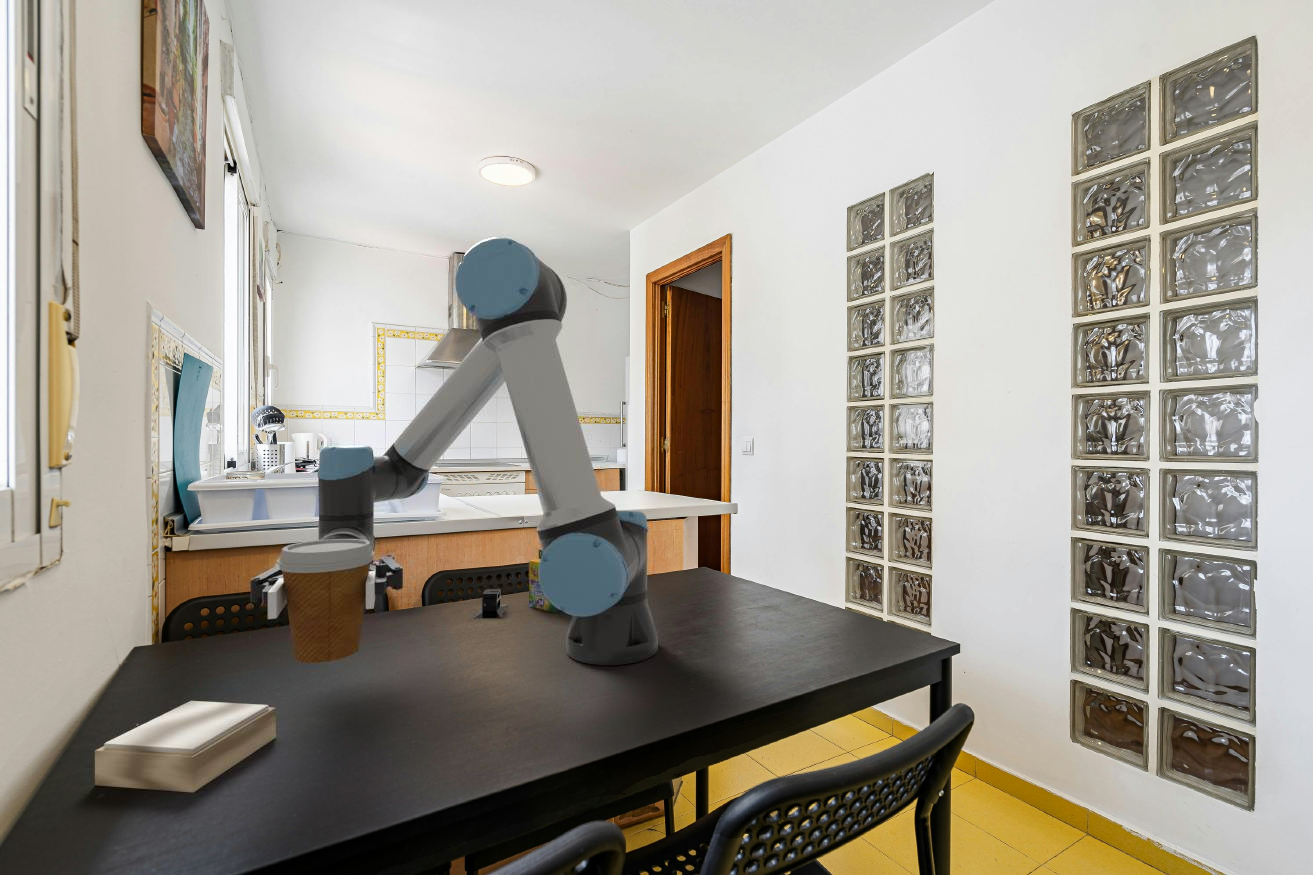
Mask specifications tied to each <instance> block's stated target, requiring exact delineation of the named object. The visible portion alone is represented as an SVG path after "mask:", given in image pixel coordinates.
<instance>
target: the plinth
mask: <svg viewBox="0 0 1313 875" xmlns="http://www.w3.org/2000/svg"><path fill="white" fill-rule="evenodd" d="M276 716H277V707H271V706H269V704H259V703H258V704H254V703H252V704H251V703H236V702H235V703H234V702H218V701H204V700H203V701H198V700H189V701H188V702H186V703H184V704H181V705H179V706H178V707H175V708H174V709H171V710H170V711H168V712H165V713H163V714H162V715H160V716H157V717H155V718H153V719H151V720H149V721H148V722H145V723H143V724H141V725H139V726H137V727H134V728H132V729H131V730H129V731H127V732H124V733H123V734H121V735H119V736H116V737H114V738H112V739H110V740H108V741H106V742H105V743H103V746H101V747H99V748H97V749H95V750H94V786H101V787H116V788H127V789H128V788H130V789H142V790H143V789H144V790H157V791H166V792H167V791H168V792H169V791H171V792H182V793H183V792H184V793H195V792H196V791H198V790H200V789H201V788H203V786H205V785H206V784H209V783H210V782H211V781H213V780H214V779H216V778H218V777H219V776H220V775H222V774H223V773H225V772H226V771H229V769H231V768H232V767H234V766H235V765H237V764H239V763H241V761H243V760H244V759H246V758H247V757H249V756H251V755H252V754H254V753H255V752H256V751H258V750H260V749H261V748H263V747H264V746H265V745H268V744H269V743H270V742H272V741H273V740H274V739H277V731H276V730H277V729H276V728H277V726H276V724H277V723H276V722H277V717H276Z"/></svg>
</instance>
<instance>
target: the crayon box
mask: <svg viewBox="0 0 1313 875" xmlns="http://www.w3.org/2000/svg"><path fill="white" fill-rule="evenodd" d="M542 555H543V550H542V549H541V548H540V549H538V558H534V559H533V558H532V559H529V560H528V596H529V599H528V600H529V601H528V602H529V603H528V606H529V607H530V608H534V609H538V610H543V611H547V612H550V613H557V612H560V611H562V610H560V609H558V608H556V607H555V606H554V605H553V604H552V603H551V602H550V601H549V600H548V599H547V598H546V596H545V594H544V593H543V591H542V588H541V586H540V582H539V576H538V570H539V563H540V560H541V557H542Z"/></svg>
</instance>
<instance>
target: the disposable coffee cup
mask: <svg viewBox="0 0 1313 875" xmlns="http://www.w3.org/2000/svg"><path fill="white" fill-rule="evenodd" d="M374 556H375V550H374V551H372V549H371V545H370V542H369V541H367V540H361V539H329V540H319V539H318V540H310V541H303V542H298V543H293V544H288V545H286V546H284V547H282V549H281V552H280V557H279V558H278V559H277V560H276V563H277V564H278V565H280V570H282V574H283V581H284V587H285V594H286V601H287V603H286V606H287V614H288V620H289V621H288V622H289V629H290V632H291V633H290V634H291V641H292V642H291V643H292V649H293V656H294V660H295V661H297V662H299V663H305V664H321V663H322V664H323V663H329V662H334V661H337V660H341V659H345V658H347V657H350V656H352V655H354V654H356V653H357V652H358V651H359V650H360V644H361V643H360V642H361V636H362V634H361V633H362V628H363V627H362V625H363V621H364V620H363V619H364V611H365V607H366V581H367V576H368V574H369V568H370V562H372V559H373V557H374Z"/></svg>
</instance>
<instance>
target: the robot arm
mask: <svg viewBox="0 0 1313 875" xmlns="http://www.w3.org/2000/svg"><path fill="white" fill-rule="evenodd" d="M454 282H455V284H454V285H455V291H456V295H457V297H458V300H459V301H460V303H461V304H462V306H463V307H464V309H466V310H467V311H468V312H469V313H470V314H471V315H473V316H475V319H476V323H477V327H478V330H479V333H480V337H481V338H480V339H479V340H477V342H476V343H475V345H474V346H473V347H472V348H471V349H470V351H469V352H468V354H467V355H465V357H464V358H463V359H462V360H461V362H460V363H459V364H458V365H457V367H455V369H454V370H453V371H452V373H450V375H449V376H448V377H447V378H446V380H445V381H444V382H443V383H442V385H440V387H439V388H438V389H437V390H436V391H435V393H434V394H433V396H432V397H431V398H430V399H429V400H428V402H427V403H425V405H424V406H423V407H422V408H421V410H420V411H419V412H418V413H417V414H416V415H415V417H414V418H413V419H412V420H411V421H410V423H409V424H408V425H407V426H406V428H404V430H403V431H402V432H401V434H400V435H398V436H399V437H397V439H396V440H395V441H394V442H393V443H392V444H391V445H390V447H389V448H388V449H387V450H386V451H385V453H384V454H383V455H382V456H374V450H373V448H372V447H371V446H369V445H333V446H332V445H328V446H325V447H322V449H321V450H320V451H319V460H318V469H317V478H318V479H317V480H318V481H317V482H318V483H317V484H318V485H317V486H318V540H329V539H361V540H367V541H369V542H370V545H371V549H372V551H374V552H375V549H376V540H375V535H374V534H375V532H374V523H375V522H374V516H375V514H374V512H375V511H374V509H375V506H374V505H375V503H379V502H380V503H381V502H386V501H392V500H401V499H403V500H404V499H407V498H410V497H412V496H415V495H417V494H419V493H420V492H422V491H423V490H424V489H425V488H426V487H427V484H428V481H429V476H430V473H429V472H430V469H432V467H433V466H434V465H436V463H437V462H438V461H439V460H440V458H442V456H443V455H444V454H445V452H446V451H447V450H448V449H449V448H450V446H451V445H453V443H454V442H455V441H456V440H457V439H458V437H459V436H460V435H461V434H462V433H463V431H464V430H465V429H466V428H467V427H468V426H469V424H470V423H471V422H472V421H473V420H474V419H475V418H476V417H477V415H478V414H479V413H480V411H481V410H482V409H483V408H484V407H485V406H486V405H487V403H488V402H489V401H490V400H491V399H492V398H493V396H494V395H495V394H496V393H497V391H498V390H499V389H500V388H501V387H502V386H503V385H504V383H505V384H506V388H507V391H508V394H509V398H510V401H511V405H512V408H513V413H514V416H515V419H516V422H517V425H518V426H517V427H518V429H519V433H520V437H521V439H522V443H523V446H524V450H525V454H526V458H527V461H528V466H529V468H530V472H531V475H532V478H533V481H534V486H535V488H536V491H537V497H538V499H539V503H540V506H541V510H542V518H541V519H540V521H539V523H538V524H537V526H536V533H537V535H538V539H539V542H540V546H541V550H543V555H542V557H541V560H540V563H539V570H538V576H539V582H540V586H541V588H542V591H543V593H544V594H545V596H546V598H547V599H548V600H549V601H550V602H551V603H552V604H553V605H554V606H555V607H556V608H558V609H560V610H561V611H562V612H563V613H565V614H568V615H571V616H572V618H571V620H570V623H569V627H568V630H567V634H566V638H565V652H566V655H568V657H570V658H571V659H573V660H575V661H577V662H581V663H584V664H590V665H596V666H597V665H598V666H619V665H627V664H632V663H633V664H634V663H638V662H641V661H644V660H646V659H649V658H651V657H652V656H654V655H655V654H656V653H657V652H658V650H659V645H658V644H659V643H658V642H659V639H658V637H659V636H658V631H657V629H656V625H655V623H654V620H653V619H654V618H653V616H652V612H651V609H650V607H649V604H648V533H649V527H648V523H647V522H648V520H647V519H648V518H647V516H646V514H645V513H644V511H643V512H642V511H639V510H617V507H616V505H615V504H614V503H612V502H611V501H609V500H607V499H605V498H604V497H603V496H602V494H601V490H600V487H599V484H598V480H597V477H596V473H595V470H594V467H593V462H592V460H591V456H590V452H589V450H588V446H587V443H586V439H585V436H584V433H583V428H582V426H581V425H582V424H581V423H580V419H579V415H578V411H577V409H576V405H575V401H574V398H573V395H572V391H571V388H570V383H569V382H568V376H567V374H566V370H565V367H564V364H563V363H564V362H563V361H562V357H561V354H560V353H561V352H560V350H559V346H558V342H557V338H558V336H559V334H560V332H561V330H562V329H563V322H562V321H563V319H564V316H565V314H566V312H567V311H566V310H567V306H568V305H567V303H568V298H567V296H568V295H567V291H566V288H565V285H564V283H563V281H562V279H561V278H560V276H559V275H558V274H557V273H556V272H555V271H554V270H553V269H552V268H551V267H549V266H548V265H547V264H545V263H544V262H543V261H542V260H541V259H540V258H539V257H537V256H536V254H535V253H534V252H533V250H531V249H530V248H529V247H527V246H526V245H525V244H522V243H520V242H518V241H516V240H513V239H511V238H507V237H500V236H498V237H491V238H487V239H483V240H481V241H479V242H477V243H476V244H474V245H473V246H471V248H470V249H469V250H467V251H466V253H465V254H464V255H463V258H462V259H461V261H460V262H459V264H458V266H457V268H456V273H455V277H454ZM249 584H250V592H249V593H250V602H251V603H257V604H258V603H260V602H261V605H263V606H266V605H267V620H273V619H277V618H278V617H279V616H280V613H281V612H282V610H283V609H285V607H286V606H287V601H286V594H285V587H284V581H283V574H282V570H280V565H278V564H277V562H276V563H275V565H274V567H272V568H270V569H268V570H266V571H263V572H262V573H260V574H257V576H255V577H253V578H251V579H250V582H249ZM403 585H404V568H403V566H401V565H400V564H399V563H398V562H397V561H396V560H395V555H394V554H393V555H392V554H387V555H384V556H382V557H378V561H374V560H373V558H372V562H370V568H369V574H368V576H367V581H366V598H365V609H366V610H372V609H374V608H375V601H376V596H377V595H378V596H379V595H385V594H386V593H387V590H388V589H387V588H390V589H392V590H395V591H400V590H402V589H403V588H404V586H403Z"/></svg>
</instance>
